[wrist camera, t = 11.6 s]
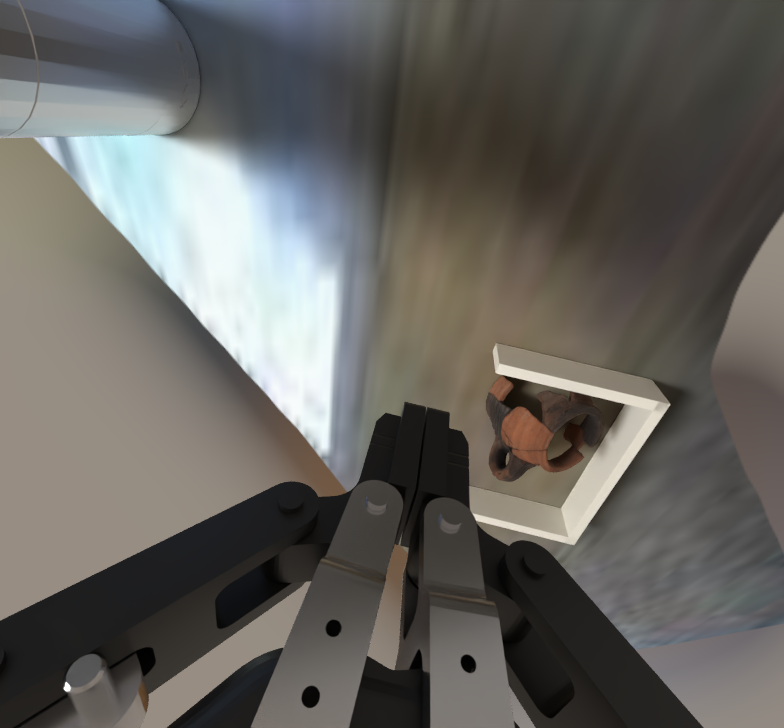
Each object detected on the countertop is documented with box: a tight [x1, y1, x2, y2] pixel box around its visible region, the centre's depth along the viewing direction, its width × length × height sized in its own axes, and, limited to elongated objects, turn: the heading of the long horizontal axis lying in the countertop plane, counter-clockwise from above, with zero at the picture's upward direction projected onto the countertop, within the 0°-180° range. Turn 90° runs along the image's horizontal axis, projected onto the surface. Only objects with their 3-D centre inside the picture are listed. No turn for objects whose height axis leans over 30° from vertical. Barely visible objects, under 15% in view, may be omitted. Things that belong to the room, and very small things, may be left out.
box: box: [469, 343, 671, 545], centre depth 42 cm, size 15×20×4 cm
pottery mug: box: [486, 376, 604, 482], centre depth 40 cm, size 12×10×8 cm
